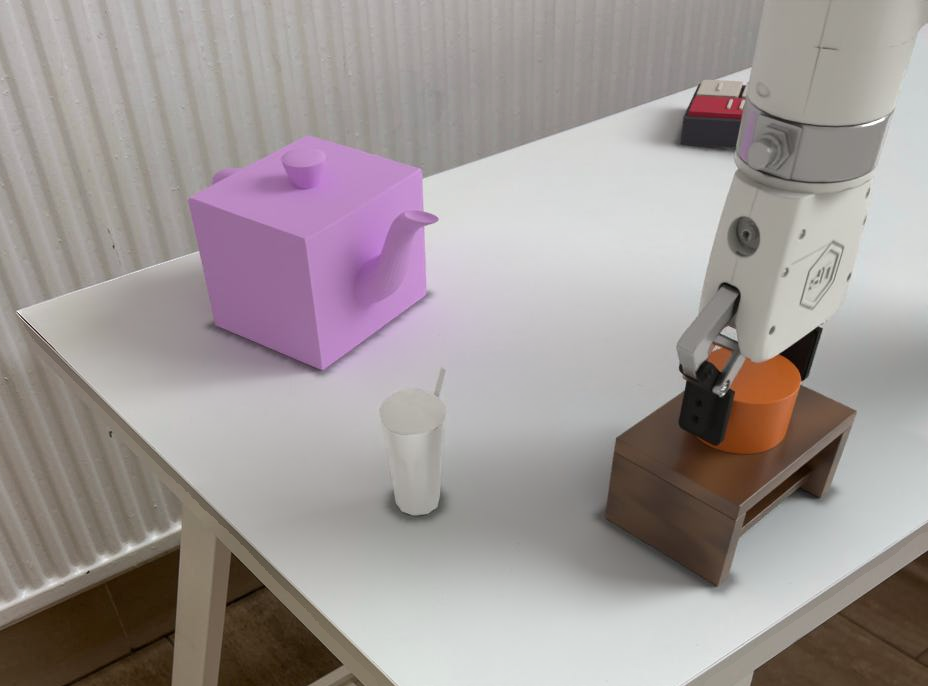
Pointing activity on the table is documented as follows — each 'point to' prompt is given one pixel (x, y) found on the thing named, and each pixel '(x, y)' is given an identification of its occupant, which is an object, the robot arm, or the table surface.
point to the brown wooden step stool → (717, 480)
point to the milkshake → (415, 446)
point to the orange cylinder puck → (758, 403)
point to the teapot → (312, 247)
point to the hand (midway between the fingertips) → (743, 402)
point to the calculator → (714, 114)
